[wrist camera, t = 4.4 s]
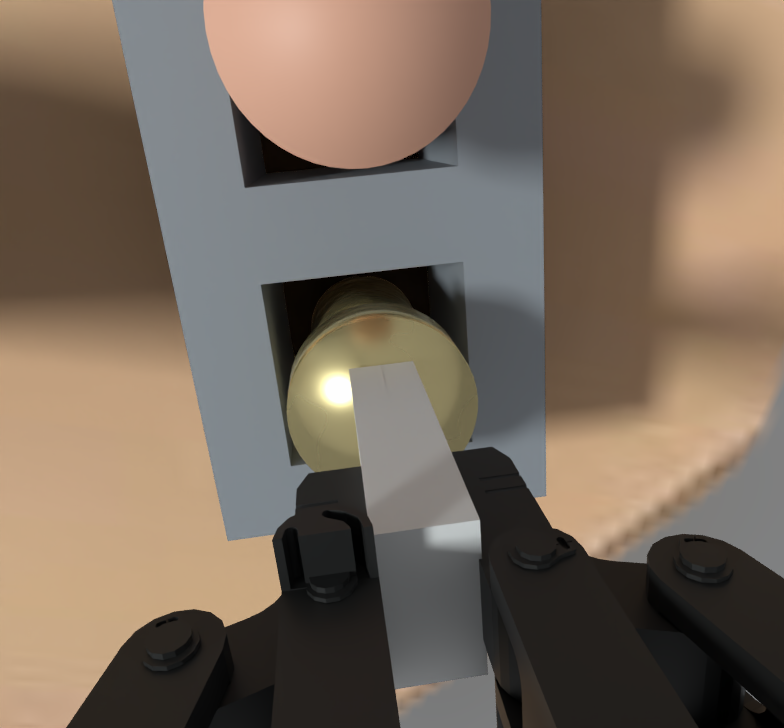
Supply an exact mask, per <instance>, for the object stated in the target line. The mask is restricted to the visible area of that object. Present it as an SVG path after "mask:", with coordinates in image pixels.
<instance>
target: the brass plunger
mask: <svg viewBox="0 0 784 728" xmlns="http://www.w3.org/2000/svg"><path fill="white" fill-rule="evenodd" d="M409 361H413V362H414V365H415V367H416V369H417V372H418V374H419V377H420V379H421V381H422V384H423V386H424V388H425V391H426V393H427V395H428V398H429V400H430V403H431V405H432V407H433V410H434V412H435V414H436V417H437V419H438V422H439V424H440V426H441V429H442V431H443V433H444V436H445V438H446V441H447V443H448V445H449V448H450V450H451V452H455V451H463V450H464V449H465V448H466V446H467V444H468V442H469V440H470V438H471V436H472V434H473V431H474V427H475V424H476V419H477V413H478V394H477V387H476V383H475V380H474V376H473V374H472V372H471V369H470V367H469V365H468V363H467V362H466V360H465V359H464V357H463V355H462V354H461V352H460V351H459V349H458V348H457V346H456V345H455V343H454V342H453V340H452V339H451V337H450V336H449V335H448V334H447V332H446V331H445V330H444V329H443V328H442V327H441V326H440V325H439V324H438V323H437V322H435V321H434V320H433V319H431V318H430V317H428V316H427V315H425V314H423V313H421V312H419V311H417V310H415V309H413V308H412V306H411V304H410V302H409V300H408V299H407V297H406V296H405V295H404V293H403V292H402V291H401V290H400V289H399V288H398V287H396V286H395V285H394V284H392V283H391V282H389V281H387V280H385V279H382V278H379V277H374V276H367V275H362V276H353V277H349V278H346V279H343V280H341V281H339V282H337V283H336V284H334V285H333V286H331V287H330V288H329V289H328V290H327V291H326V292H325V293H324V294H323V295H322V296H321V298H320V299H319V301H318V303H317V304H316V306H315V309H314V312H313V316H312V323H311V334H310V335H309V336H308V337H307V338H306V340H305V341H304V343H303V344H302V346H301V347H300V349H299V351H298V353H297V355H296V357H295V360H294V363H293V366H292V370H291V375H290V381H289V390H288V398H287V422H288V428H289V432H290V436H291V438H292V441H293V443H294V446H295V448H296V449H297V451H298V453H299V455H300V456H301V457H302V459H303V460H304V461H305V463H306V464H307V465H308V466H309V467H310V468H311V469H312V470H313V471H314V472H321V471H329V470H336V469H344V468H351V467H359V466H361V464H360V456H359V448H358V440H357V432H356V424H355V416H354V407H353V399H352V391H351V383H350V375H349V369H353V368H361V367H369V366H377V365H385V364H393V363H401V362H409Z"/></svg>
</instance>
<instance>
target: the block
mask: <svg viewBox="0 0 784 728" xmlns="http://www.w3.org/2000/svg"><path fill="white" fill-rule="evenodd" d="M490 1H491V28H490V36H489V43H488V49H487V53H486V57H485V61H484V65H483V68H482V71H481V73H480V76H479V79H478V81H477V84H476V86H475V88H474V90H473V92H472V94H471V96H470V97H469V99H468V101H467V103H466V104H465V106H464V107H463V109H462V110H461V112H460V113H459V114H458V116H457V117H456V118H455V120H454V121H453V122H452V123H451V124H450V125H449V126H448V127H447V128H446V130H445V131H444V132H443V133H441V134H440V135H439V136H438V137H437V138H435V139H434V140H433V141H432V142H431V143H429V144H428V145H426V146H425V147H423V148H422V149H420V150H419V151H418V158H414V159H404V160H399V161H395V162H392V163H389V164H386V165H383V166H377V167H371V168H363V169H344V168H334V167H325V168H315V169H305V170H295V171H285V172H275V173H266V170H265V164H264V157H263V151H262V144H261V138H260V131H259V130H258V129H257V128H256V127H255V126H253V125H252V124H251V123H250V121H249V120H248V119H247V118H246V117H245V115H244V114H243V113H242V112H241V111H240V109H239V108H238V107H237V105H236V104H235V102H234V101H233V99H232V98H231V96H230V95H229V93H228V92H227V90H226V88H225V86H224V84H223V82H222V80H221V78H220V76H219V74H218V71H217V69H216V66H215V63H214V60H213V58H212V55H211V52H210V47H209V43H208V39H207V35H206V29H205V20H204V11H203V0H112V2H113V7H114V12H115V16H116V21H117V26H118V30H119V35H120V40H121V44H122V49H123V54H124V58H125V63H126V68H127V72H128V77H129V82H130V86H131V91H132V96H133V100H134V105H135V110H136V114H137V119H138V124H139V128H140V133H141V138H142V142H143V147H144V152H145V156H146V161H147V166H148V170H149V175H150V180H151V184H152V189H153V194H154V198H155V203H156V208H157V212H158V217H159V222H160V226H161V231H162V236H163V240H164V245H165V250H166V254H167V259H168V264H169V268H170V273H171V278H172V282H173V287H174V292H175V296H176V301H177V306H178V310H179V315H180V320H181V324H182V329H183V334H184V338H185V343H186V348H187V352H188V357H189V362H190V366H191V371H192V376H193V380H194V385H195V390H196V395H197V399H198V404H199V409H200V413H201V418H202V423H203V427H204V432H205V437H206V441H207V446H208V451H209V455H210V460H211V465H212V469H213V474H214V479H215V483H216V488H217V493H218V497H219V502H220V507H221V511H222V516H223V521H224V525H225V530H226V535H227V539H228V541H231V540H238V539H245V538H252V537H259V536H266V535H273V534H275V533H276V530H277V528H278V527H279V526H280V525H282V524H283V523H284V522H285V521H286V520H287V519H288V518H290V517H292V516H294V515H295V509H296V492H297V488H298V487H299V485H300V484H301V483H302V481H303V480H304V479H305V477H306V476H307V475H308V473H314V471H313V470H312V469H311V468H310V467H309V466H308V465H307V464H306V463H305V461H304V460H303V459H302V457H301V456H300V455H299V453H298V451H297V449H296V448H295V446H294V443H293V441H292V438H291V436H290V432H289V428H288V422H287V398H288V390H289V381H290V375H291V370H292V366H293V363H294V360H295V359H294V353H293V346H292V340H291V333H290V327H289V320H288V314H287V307H286V301H285V294H284V288H283V282H288V281H297V280H306V279H315V278H324V277H332V276H341V275H350V274H359V273H368V272H376V271H385V270H394V269H403V268H412V267H421V266H427V280H428V293H429V307H430V318H431V319H433V320H434V321H435V322H437V323H438V324H439V325H440V326H441V327H442V328H443V329H444V330H445V331H446V332H447V334H448V335H449V336H450V337H451V339H452V340H453V342H454V343H455V345H456V346H457V348H458V349H459V351H460V352H461V354H462V355H463V357H464V359H465V360H466V362H467V363H468V365H469V367H470V369H471V372H472V374H473V376H474V380H475V383H476V387H477V394H478V413H477V419H476V424H475V427H474V431H473V434H472V436H471V438H470V440H469V442H468V444H467V446H466V448H465V449H464V450H470V449H478V448H485V447H494V448H495V449H497V450H498V451H500V452H502V453H503V454H505V455H507V456H508V457H510V458H511V460H512V461H513V463H514V465H515V466H516V468H517V470H518V472H519V475H520V476H521V477H522V478H523V480H524V482H525V483H526V485H527V488H529V490H530V492H531V493H532V495H533V497H534V498H535V497H542V496H546V431H545V331H544V231H543V132H542V32H541V0H490Z"/></svg>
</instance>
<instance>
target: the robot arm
mask: <svg viewBox="0 0 784 728" xmlns="http://www.w3.org/2000/svg"><path fill="white" fill-rule="evenodd" d="M349 375H350V383H351V391H352V399H353V407H354V416H355V424H356V432H357V440H358V448H359V456H360V464H361V466H359V467H351V468H344V469H336V470H329V471H321V472H314V473H308V475H307V476H306V477H305V479H304V480H303V481H302V483H301V484H300V485H299V487H298V488H297V492H296V509H295V515H294V516H292V517H290V518H288V519H287V520H286V521H285V522H284V523H283V524H282V525H280V526H279V527H278V528H277V530H276V533H275V535H274V537H273V540H272V542H273V547H274V552H275V558H276V563H277V569H278V574H279V579H280V585H281V590H282V595H281V596H280V597H279V598H278V600H277V601H276V602H275V603H273V604H272V605H271V606H269V607H268V608H266V609H265V610H264V611H262V612H260V613H258V614H256V615H254V616H252V617H250V618H248V619H245V620H243V621H240V622H237V623H235V624H232V625H230V626H227V627H224V625H223V622H222V620H221V619H219V618H218V617H216V616H215V615H214V614H212V613H211V612H206V611H201V610H195V609H193V610H184V611H176V612H172V613H170V614H167V615H164V616H162V617H159V618H156V619H154V620H152V621H151V622H149V623H148V624H146V625H145V626H143V627H142V628H140V629H138V630H137V631H136V632H135V633H134V634H133V635H132V636H131V637H130V638H129V639H128V640H127V641H126V642H125V643H124V645H123V646H122V647H121V648H120V650H119V651H118V653H117V654H116V656H115V657H114V659H113V660H112V662H111V663H110V664H109V666H108V667H107V669H106V670H105V672H104V673H103V675H102V676H101V678H100V679H99V681H98V682H97V683H96V685H95V686H94V688H93V689H92V691H91V692H90V694H89V695H88V697H87V698H86V700H85V701H84V703H83V704H82V705H81V707H80V708H79V710H78V711H77V713H76V714H75V716H74V717H73V719H72V720H71V722H70V723H69V724H68V726H67V727H66V728H400V722H399V715H398V707H397V700H396V693H395V689H400V688H406V687H412V686H418V685H425V684H431V683H437V682H443V681H449V680H456V679H462V678H468V677H474V676H481V675H487V674H488V667H487V653H488V656H489V659H490V662H491V665H492V668H493V671H494V673H495V693H496V713H497V728H784V579H783V578H782V577H781V576H779V575H778V574H776V573H775V572H773V571H772V570H770V569H769V568H767V567H766V566H764V565H763V564H761V563H760V562H758V561H756V560H755V559H754V558H752V557H751V556H749V555H748V554H746V553H745V552H743V551H742V550H740V549H738V548H736V547H734V546H732V545H730V544H728V543H726V542H724V541H721V540H718V539H714V538H711V537H707V536H703V535H689V534H680V535H675V536H669V537H665V538H663V539H661V540H659V541H658V542H656V543H654V544H653V545H652V547H651V549H650V551H649V553H648V555H647V564H644V563H630V562H617V561H609V560H602V559H597V558H594V557H590V556H588V554H587V553H586V551H585V550H584V548H583V547H582V546H581V545H580V544H579V543H578V542H577V541H576V540H575V539H574V538H573V537H572V536H570V535H568V534H566V533H564V532H562V531H560V530H558V529H553V528H552V527H551V525H550V523H549V522H548V520H547V518H546V517H545V515H544V513H543V512H542V510H541V508H540V507H539V505H538V503H537V502H536V500H535V498H534V497H533V495H532V493H531V492H530V490H529V488H527V485H526V483H525V482H524V480H523V478H522V477H521V476H520V475H519V472H518V470H517V468H516V466H515V465H514V463H513V461H512V460H511V458H510V457H508V456H507V455H505V454H503V453H502V452H500V451H498V450H497V449H495V448H494V447H485V448H478V449H470V450H463V451H455V452H451V450H450V448H449V445H448V443H447V441H446V438H445V436H444V433H443V431H442V429H441V426H440V424H439V422H438V419H437V417H436V414H435V412H434V410H433V407H432V405H431V403H430V400H429V398H428V395H427V393H426V391H425V388H424V386H423V384H422V381H421V379H420V377H419V374H418V372H417V369H416V367H415V365H414V362H413V361H409V362H401V363H393V364H385V365H377V366H369V367H361V368H353V369H349ZM745 690H747V691H748V692H749V693H750V694H751V695H753V696H754V697H755V698H756V699H757V700H758V701H759V702H760V703H759V702H758V701H757V700H755V699H754V698H753V697H752V696H751V695H750V694H748V693H747V692H746V691H745Z"/></svg>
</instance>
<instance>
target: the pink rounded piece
mask: <svg viewBox="0 0 784 728" xmlns="http://www.w3.org/2000/svg"><path fill="white" fill-rule="evenodd" d="M203 11H204V20H205V29H206V35H207V39H208V43H209V47H210V52H211V55H212V58H213V60H214V63H215V66H216V69H217V71H218V74H219V76H220V78H221V80H222V82H223V84H224V86H225V88H226V90H227V92H228V93H229V95H230V96H231V98H232V99H233V101H234V102H235V104H236V105H237V107H238V108H239V109H240V111H241V112H242V113H243V114H244V115H245V117H246V118H247V119H248V120H249V121H250V123H251V124H252V125H253V126H255V127H256V128H257V129H258V130H259V131H260V132H261V133H262V134H263V135H264V136H265V137H267V138H268V139H269V140H271V141H272V142H274V143H275V144H276V145H278V146H279V147H280V148H282V149H284V150H286V151H288V152H290V153H291V154H293V155H295V156H297V157H300V158H302V159H305V160H307V161H310V162H312V163H316V164H320V165H324V166H328V167H334V168H344V169H363V168H371V167H377V166H383V165H386V164H389V163H392V162H395V161H399V160H401V159H403V158H405V157H407V156H409V155H412V154H414V153H416V152H417V151H419V150H420V149H422V148H423V147H425V146H426V145H428V144H429V143H431V142H432V141H433V140H434V139H435V138H437V137H438V136H439V135H440V134H441V133H443V132H444V131H445V130H446V128H447V127H448V126H449V125H450V124H451V123H452V122H453V121H454V120H455V118H456V117H457V116H458V114H459V113H460V112H461V110H462V109H463V107H464V106H465V104H466V103H467V101H468V99H469V97H470V96H471V94H472V92H473V90H474V88H475V86H476V84H477V81H478V79H479V76H480V73H481V71H482V68H483V65H484V61H485V57H486V53H487V49H488V43H489V36H490V28H491V1H490V0H203Z"/></svg>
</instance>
